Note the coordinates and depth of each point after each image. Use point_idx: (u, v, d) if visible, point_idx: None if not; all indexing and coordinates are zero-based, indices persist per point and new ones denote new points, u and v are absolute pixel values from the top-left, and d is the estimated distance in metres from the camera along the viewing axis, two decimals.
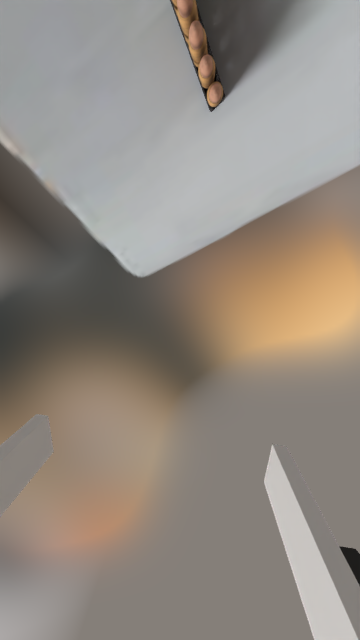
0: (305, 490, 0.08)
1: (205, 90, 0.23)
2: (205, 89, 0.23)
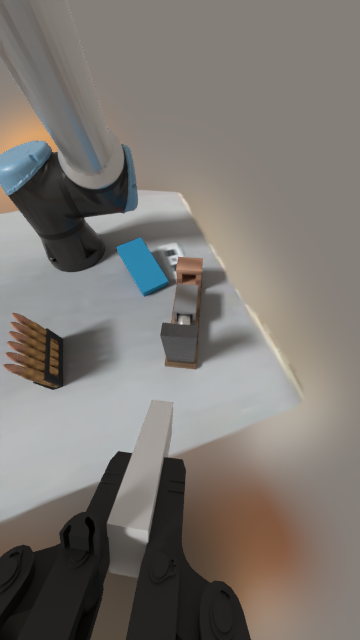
0: (165, 426, 0.10)
1: None
2: None
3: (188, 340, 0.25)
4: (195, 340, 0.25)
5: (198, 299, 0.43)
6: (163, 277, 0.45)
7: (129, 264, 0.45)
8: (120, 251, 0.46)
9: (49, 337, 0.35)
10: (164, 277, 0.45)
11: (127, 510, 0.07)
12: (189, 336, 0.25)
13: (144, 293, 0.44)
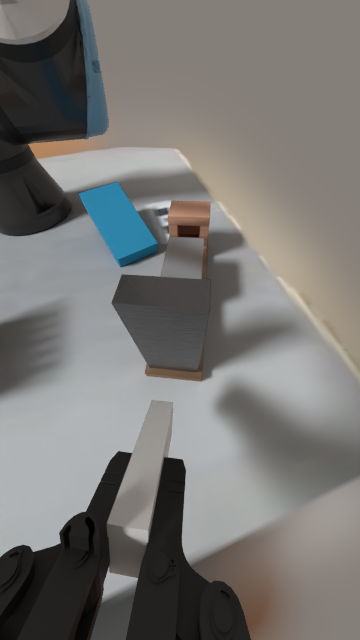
0: (165, 426, 0.10)
1: None
2: None
3: (187, 318, 0.10)
4: (205, 316, 0.10)
5: (203, 268, 0.27)
6: (150, 237, 0.29)
7: (97, 218, 0.29)
8: (84, 199, 0.30)
9: None
10: (151, 237, 0.29)
11: (127, 510, 0.07)
12: (189, 303, 0.09)
13: (120, 261, 0.28)
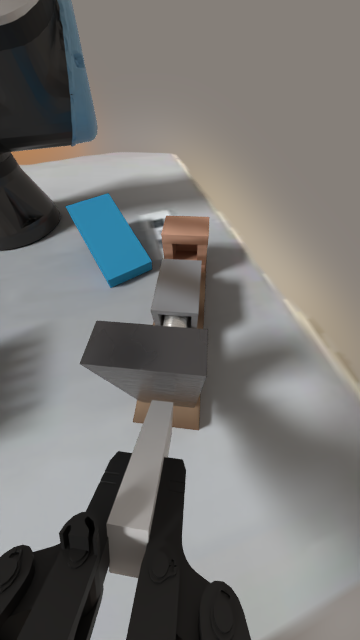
0: (165, 426, 0.10)
1: None
2: None
3: (178, 379, 0.08)
4: (200, 380, 0.07)
5: (201, 290, 0.24)
6: (143, 255, 0.27)
7: (85, 234, 0.26)
8: (72, 213, 0.27)
9: None
10: (145, 255, 0.27)
11: (127, 510, 0.07)
12: (180, 366, 0.07)
13: (109, 282, 0.25)
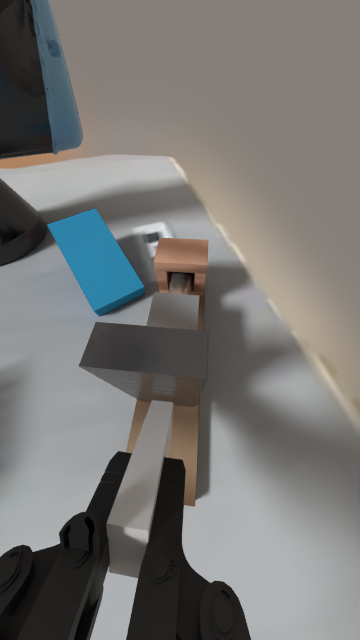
0: (165, 426, 0.10)
1: None
2: None
3: (178, 381, 0.08)
4: (201, 382, 0.07)
5: (199, 321, 0.22)
6: (134, 280, 0.24)
7: (69, 257, 0.24)
8: (54, 232, 0.24)
9: None
10: (136, 279, 0.24)
11: (127, 510, 0.07)
12: (180, 368, 0.07)
13: (97, 311, 0.23)
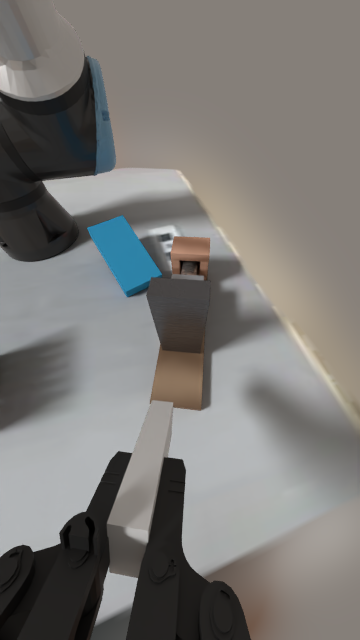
0: (165, 426, 0.10)
1: None
2: None
3: (195, 305, 0.15)
4: (206, 304, 0.15)
5: None
6: (154, 269, 0.31)
7: (105, 252, 0.31)
8: (92, 234, 0.32)
9: None
10: (156, 269, 0.31)
11: (127, 510, 0.07)
12: (196, 296, 0.14)
13: (127, 292, 0.30)
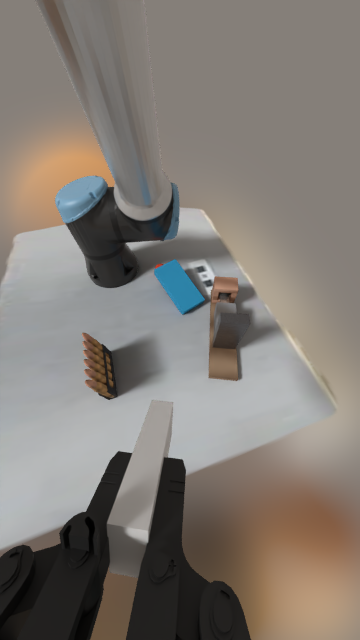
0: (165, 426, 0.10)
1: None
2: None
3: (242, 326, 0.32)
4: (247, 325, 0.32)
5: None
6: (200, 296, 0.48)
7: (167, 286, 0.48)
8: (158, 273, 0.49)
9: (104, 352, 0.39)
10: (200, 296, 0.48)
11: (127, 510, 0.07)
12: (243, 322, 0.32)
13: (184, 312, 0.47)
